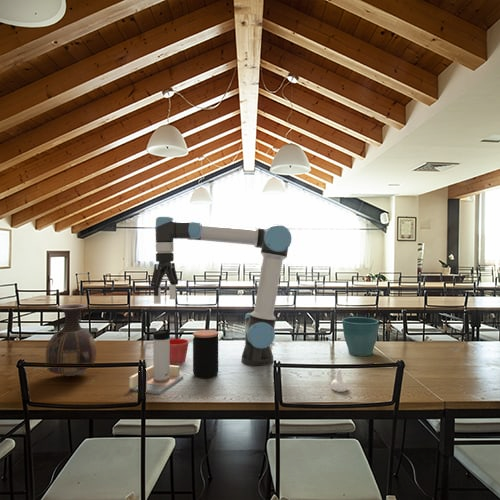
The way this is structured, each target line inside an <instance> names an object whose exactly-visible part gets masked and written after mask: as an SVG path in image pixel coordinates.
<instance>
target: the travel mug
mask: <svg viewBox="0 0 500 500" xmlns="http://www.w3.org/2000/svg"><path fill="white" fill-rule="evenodd" d="M170 332H171V329H170V328H168V329H167V328H166V329H165V328H164V329H159V330H156V331H154V332H153V340H152V341H153V345H152V346H153V351H152V352H153V355H152V357H153V359H152V360H153V361H152V362H153V364H152V365H153V368H154V381H155V382H158V383H162V382H167V381H168V380H169V379H170V376H169V375H170V365H171V363H170V345H169V340H170Z"/></svg>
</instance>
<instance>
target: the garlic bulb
mask: <svg viewBox="0 0 500 500" xmlns="http://www.w3.org/2000/svg"><path fill="white" fill-rule="evenodd" d="M348 386H349V385H348V383H347V381H346V380H345V379H343V376H342V369H341V368H337V373H336V378H334V379H333V380H332V381H331V384H330V387H331V390H332V391H334V392H337V393H344V392H346V391H347V390H348V388H349V387H348Z"/></svg>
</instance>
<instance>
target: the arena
mask: <svg viewBox="0 0 500 500" xmlns="http://www.w3.org/2000/svg"><path fill="white" fill-rule="evenodd" d="M180 367H181V366H180V365H175V364H172V365H171V364H170V375H169V376H170V379H169V380H168V381H167V382H162V383H158V382H155V381H154V368H153V364H152V365H150V366H148V367H146V368H145V369H146V371H147V394H154V395H161V394H163V393H164V392H165V391H167V390H169V389H170V388H172V387H173V386H174V385H175V384H177V383H179V382H180V381H182V380H183V379H184V375H181V373H180V371H181V370H180ZM137 389H138V372H137V373H135V374H132V375H131V376H129V391H131V390H134V391H133V392H138V391H137Z"/></svg>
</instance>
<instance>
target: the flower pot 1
mask: <svg viewBox="0 0 500 500" xmlns="http://www.w3.org/2000/svg"><path fill="white" fill-rule="evenodd" d="M189 343H190V342H189V340H187V339H185V338H174V339H172V338H171V339H169V345H170V365H171V364H172V365H179V364H185V362H186V360H187V353H188V349H189V348H188V347H189Z"/></svg>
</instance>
